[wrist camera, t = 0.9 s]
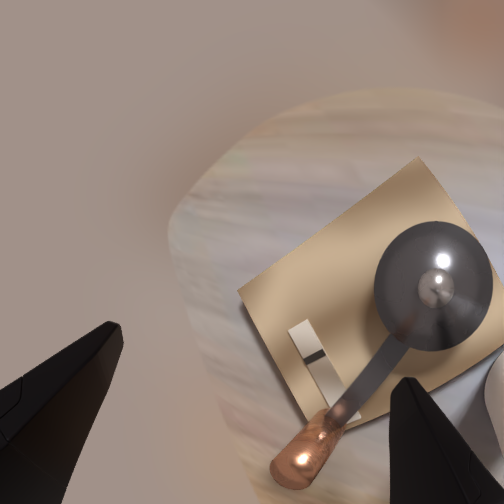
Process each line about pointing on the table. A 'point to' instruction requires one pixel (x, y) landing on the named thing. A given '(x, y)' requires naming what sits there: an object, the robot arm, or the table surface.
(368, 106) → the table surface
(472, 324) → the lever
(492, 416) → the can
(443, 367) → the stand
